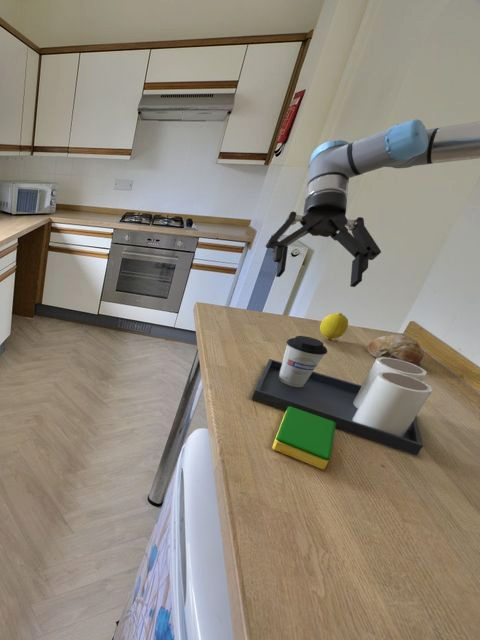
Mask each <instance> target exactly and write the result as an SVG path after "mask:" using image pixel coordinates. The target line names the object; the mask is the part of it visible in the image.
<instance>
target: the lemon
mask: <svg viewBox="0 0 480 640" xmlns="http://www.w3.org/2000/svg"><path fill="white" fill-rule="evenodd" d="M348 327H349V319H348V318H347V317H346V316H345V314H343V313H342V312H335V313H334V312H333V313H331V314H328V315H326V316H325V317H324V318H323V319H322V320H321V322H320V326H319V332H320V333H321V335H322V336H324V337H325V339H326V340H332V339H338V338H340V337H342V336H343V335H344V334H345V333H346V331H347V329H348Z"/></svg>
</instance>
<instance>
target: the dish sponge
mask: <svg viewBox="0 0 480 640" xmlns="http://www.w3.org/2000/svg"><path fill="white" fill-rule="evenodd" d="M335 426H336V423H335V422H334V421H331V420H328V419H325V418H322V417H319V416H316V415H313V414H311V413H308V412H305V411H302V410H299V409H296V408H293V407H288V408H287V411H285V413H284V414H283V418H282V420H281V422H280V426H279V428H278V431H277V433H276V436H275V438H274V440H273V443H272V446H271V449H273V450H274V451H276V452H279V453H281V454H283V455H286V456H289V457H291V458H294V459H296V460H298V461H301V462H303V463H306V464H308V465H311V466H314V467H316V468H318V469H320V470H325V469H326V468H327V465H328V464H329V461H330V460H331V455H332V449H333V444H334V438H335V432H336V428H335Z"/></svg>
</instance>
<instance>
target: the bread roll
mask: <svg viewBox="0 0 480 640" xmlns="http://www.w3.org/2000/svg"><path fill="white" fill-rule="evenodd" d="M366 349H367V352H368V353H369V354H370V355H371V356H372V357H374V358H375V359H377V358H379V357H386V358H393V359H398V360H402V361H406V362H409V363H411V364H414V365H416V366H418V365H419V364H421V362H422V361H423V359H424V357H425V352H424V349H423V347H421V346H420V344H419V343H418V342H417V341H416V340H414V339H413V338H412V337H410V336H407V335H403V334H392V335H383V336H377V337H376V338H374V339H372V340H371V342H370V343H369V344H368V346H367V348H366Z"/></svg>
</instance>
